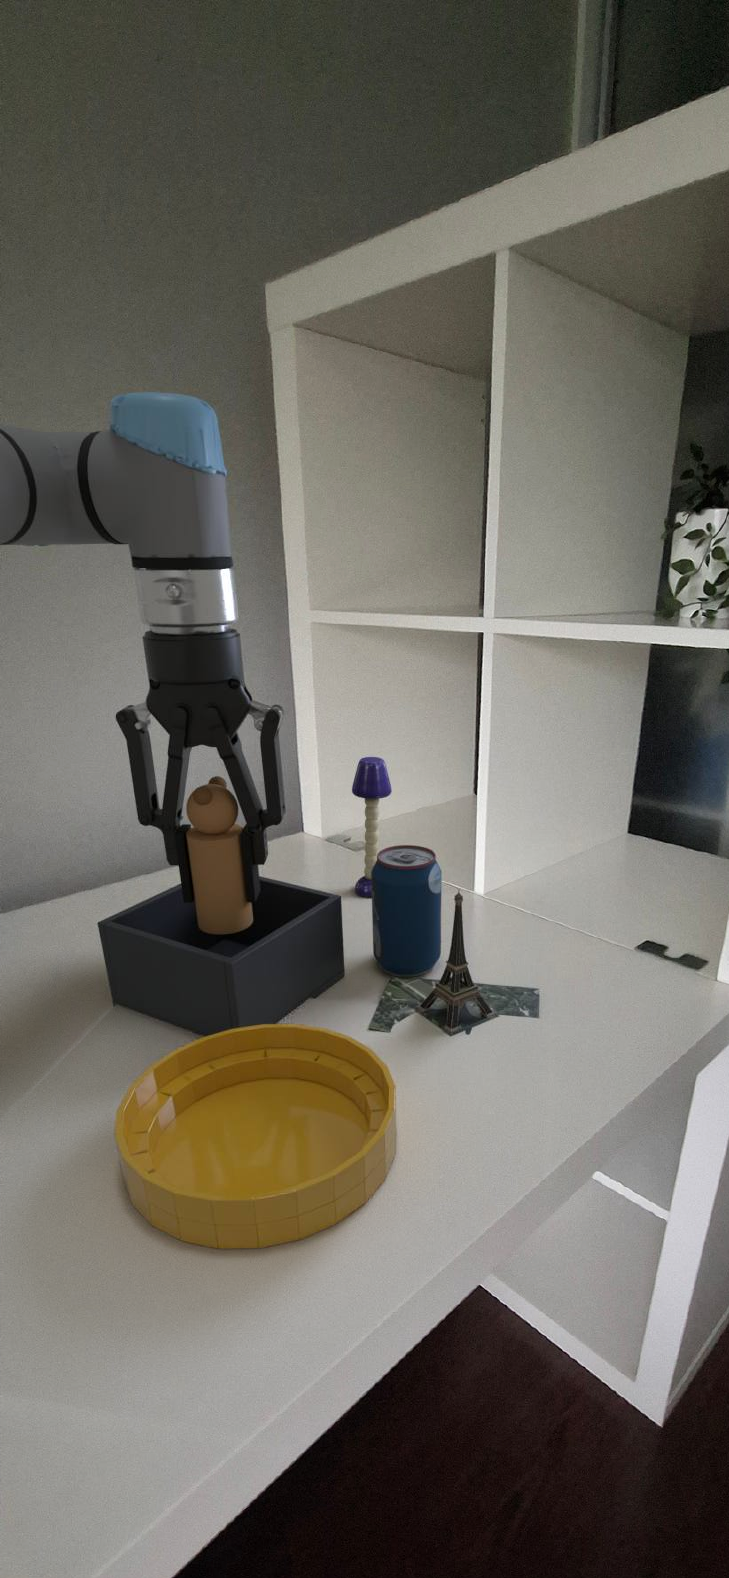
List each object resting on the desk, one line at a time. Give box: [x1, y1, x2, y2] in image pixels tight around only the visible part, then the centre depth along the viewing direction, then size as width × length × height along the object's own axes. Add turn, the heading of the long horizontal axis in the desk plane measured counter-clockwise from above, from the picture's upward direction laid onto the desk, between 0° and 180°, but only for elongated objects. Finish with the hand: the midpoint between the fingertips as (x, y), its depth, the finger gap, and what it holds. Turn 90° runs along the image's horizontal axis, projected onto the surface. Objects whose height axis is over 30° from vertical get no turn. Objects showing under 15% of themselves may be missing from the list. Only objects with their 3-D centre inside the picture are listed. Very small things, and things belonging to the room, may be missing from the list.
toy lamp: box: [351, 756, 393, 898], centre depth 96 cm, size 5×5×17 cm
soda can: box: [371, 844, 443, 978], centre depth 80 cm, size 7×7×12 cm
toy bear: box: [185, 775, 253, 935], centre depth 72 cm, size 5×5×14 cm
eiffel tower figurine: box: [368, 890, 541, 1038], centre depth 71 cm, size 15×10×13 cm
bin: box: [96, 875, 346, 1037], centre depth 76 cm, size 16×16×9 cm
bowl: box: [114, 1023, 397, 1250], centre depth 57 cm, size 19×19×4 cm
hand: (222, 896), depth 74 cm, fingers closed on toy bear, 5 cm apart
